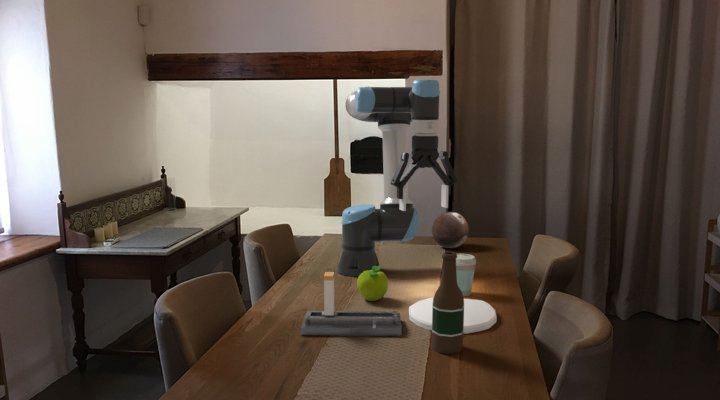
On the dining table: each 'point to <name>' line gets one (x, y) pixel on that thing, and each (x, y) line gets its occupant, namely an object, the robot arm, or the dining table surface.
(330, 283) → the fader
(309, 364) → the dining table surface
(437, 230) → the wooden sphere
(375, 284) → the fruit
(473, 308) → the decorative plate
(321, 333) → the fader console
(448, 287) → the beer bottle
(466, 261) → the coffee cup
